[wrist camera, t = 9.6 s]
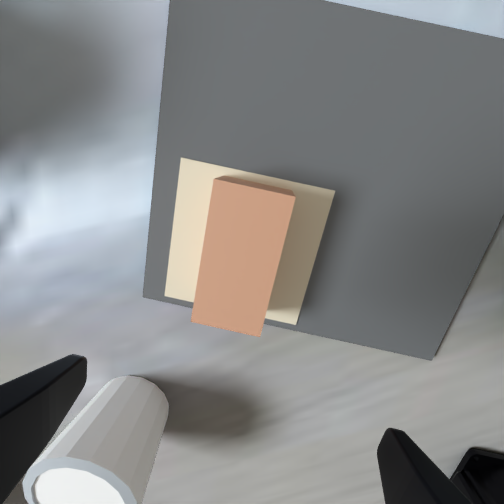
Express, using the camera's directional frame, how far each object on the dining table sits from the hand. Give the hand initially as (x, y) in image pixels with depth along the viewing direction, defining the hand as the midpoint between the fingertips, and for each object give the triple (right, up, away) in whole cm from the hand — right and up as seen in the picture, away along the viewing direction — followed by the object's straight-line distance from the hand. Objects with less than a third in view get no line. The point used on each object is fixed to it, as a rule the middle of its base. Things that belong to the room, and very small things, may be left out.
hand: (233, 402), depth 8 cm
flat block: (0, +5, +9) cm, 10 cm away
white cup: (-9, -8, +15) cm, 19 cm away
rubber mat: (+5, +8, +9) cm, 12 cm away
